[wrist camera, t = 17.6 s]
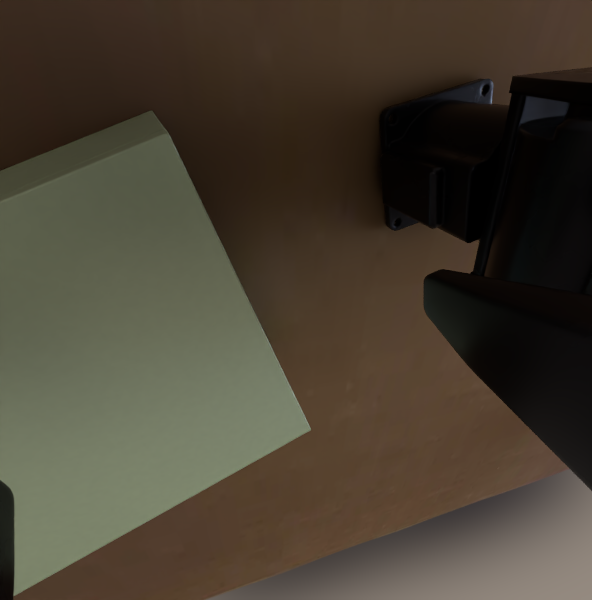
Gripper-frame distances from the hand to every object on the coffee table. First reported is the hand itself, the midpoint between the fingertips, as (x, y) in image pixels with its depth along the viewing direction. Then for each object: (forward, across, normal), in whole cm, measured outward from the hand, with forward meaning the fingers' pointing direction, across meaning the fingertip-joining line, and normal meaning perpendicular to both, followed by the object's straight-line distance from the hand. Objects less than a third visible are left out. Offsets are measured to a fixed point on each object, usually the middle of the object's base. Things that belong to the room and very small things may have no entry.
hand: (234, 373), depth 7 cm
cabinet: (+12, +7, +4) cm, 14 cm away
